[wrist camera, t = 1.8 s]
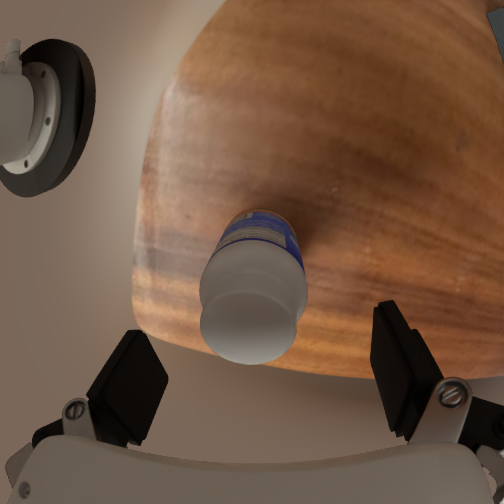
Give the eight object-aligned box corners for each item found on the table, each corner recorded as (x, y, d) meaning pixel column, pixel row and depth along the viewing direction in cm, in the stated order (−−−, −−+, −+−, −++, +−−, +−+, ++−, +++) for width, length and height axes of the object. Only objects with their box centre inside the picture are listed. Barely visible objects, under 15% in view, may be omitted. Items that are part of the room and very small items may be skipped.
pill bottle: (293, 279, 21) (304, 379, 12) (222, 274, 21) (190, 370, 12) (301, 209, 18) (327, 280, 10) (222, 204, 19) (177, 269, 10)
